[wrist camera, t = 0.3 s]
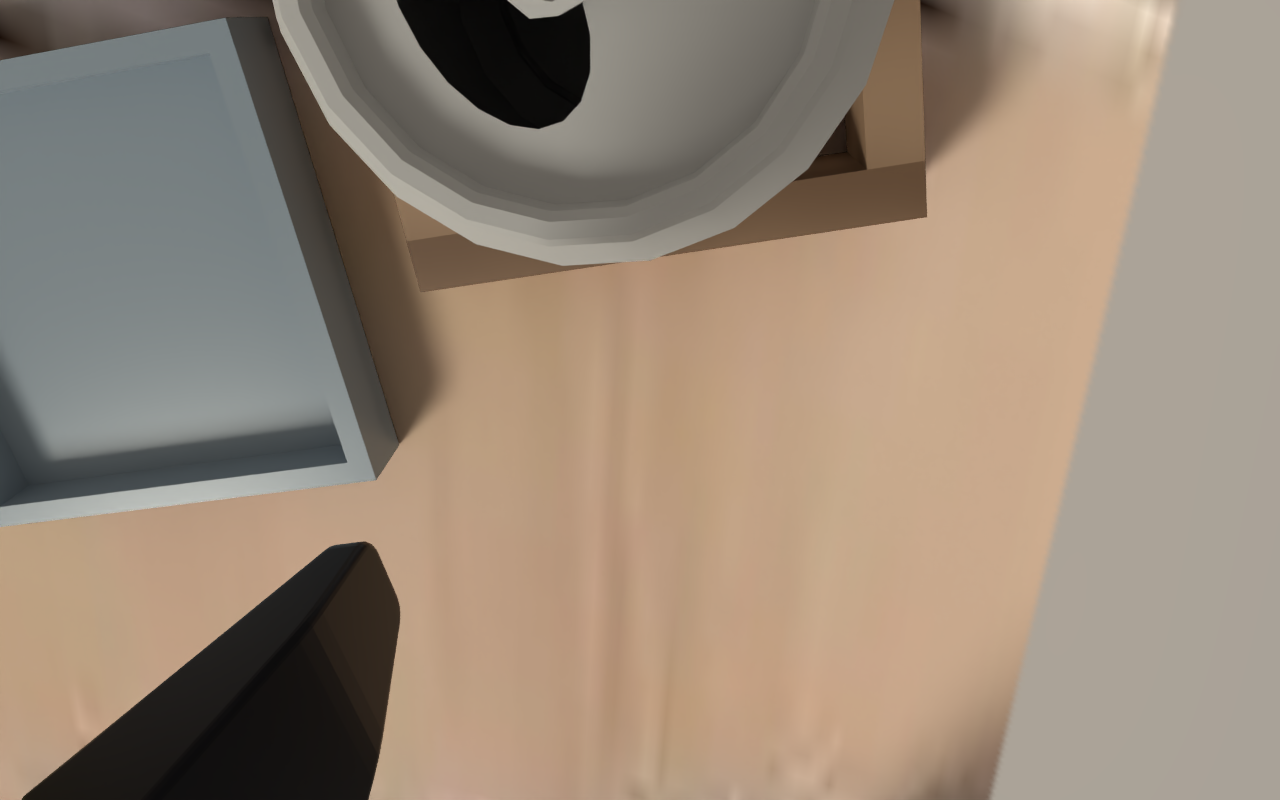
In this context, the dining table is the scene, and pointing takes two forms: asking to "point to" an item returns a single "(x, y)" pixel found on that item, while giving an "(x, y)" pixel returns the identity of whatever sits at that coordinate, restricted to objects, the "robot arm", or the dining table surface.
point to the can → (585, 110)
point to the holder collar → (813, 203)
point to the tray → (171, 284)
